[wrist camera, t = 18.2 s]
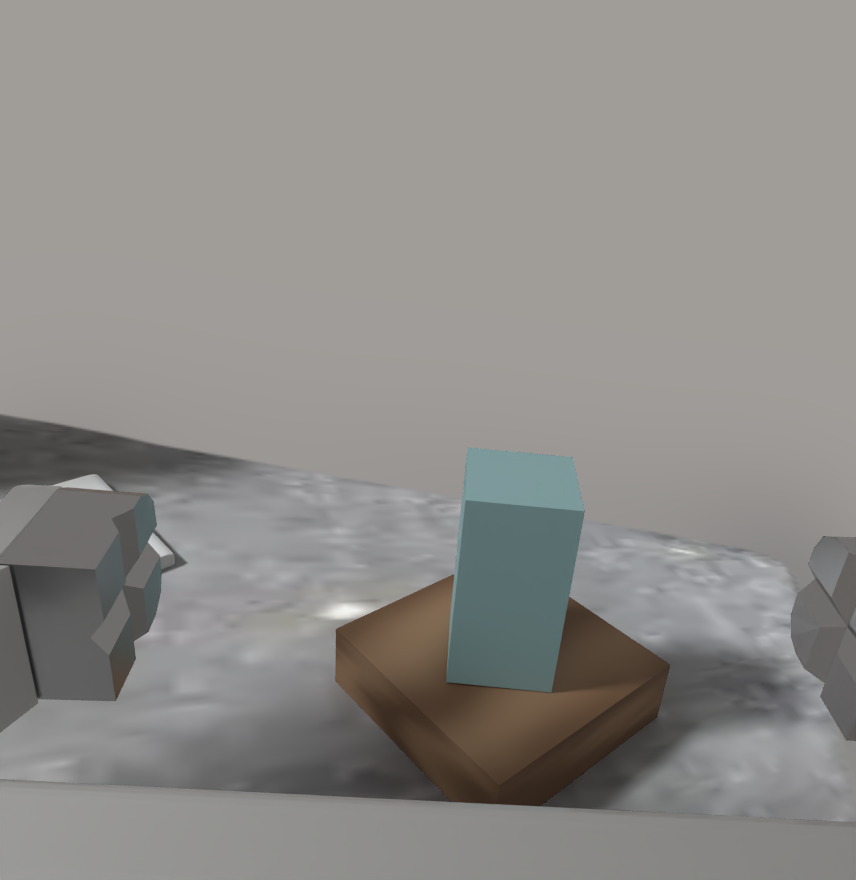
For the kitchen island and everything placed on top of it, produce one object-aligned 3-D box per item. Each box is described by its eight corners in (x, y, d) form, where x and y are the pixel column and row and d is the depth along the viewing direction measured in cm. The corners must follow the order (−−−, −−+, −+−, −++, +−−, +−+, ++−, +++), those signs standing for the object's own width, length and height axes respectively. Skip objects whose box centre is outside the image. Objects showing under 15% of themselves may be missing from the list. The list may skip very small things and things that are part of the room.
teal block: (446, 682, 38) (465, 500, 33) (450, 615, 42) (467, 447, 38) (551, 692, 38) (584, 511, 33) (543, 624, 42) (572, 457, 38)
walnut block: (335, 687, 43) (335, 629, 41) (495, 604, 50) (502, 551, 48) (490, 849, 35) (499, 785, 33) (655, 723, 42) (670, 664, 40)
